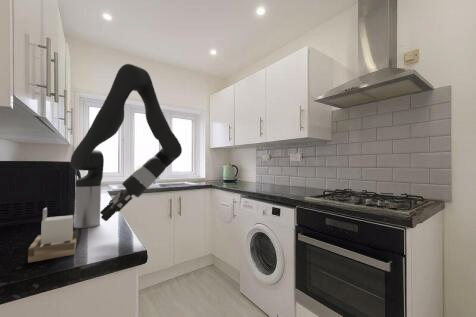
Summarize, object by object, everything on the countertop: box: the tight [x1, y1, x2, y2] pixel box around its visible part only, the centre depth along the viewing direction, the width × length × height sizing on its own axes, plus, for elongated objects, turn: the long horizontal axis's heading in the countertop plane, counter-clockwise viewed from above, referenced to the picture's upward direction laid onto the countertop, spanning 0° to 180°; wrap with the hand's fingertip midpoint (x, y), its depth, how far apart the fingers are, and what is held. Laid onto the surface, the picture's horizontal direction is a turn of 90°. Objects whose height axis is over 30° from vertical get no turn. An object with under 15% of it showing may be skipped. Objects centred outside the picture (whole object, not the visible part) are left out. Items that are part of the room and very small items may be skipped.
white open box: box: [40, 207, 74, 247], centre depth 68 cm, size 5×7×12 cm
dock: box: [27, 231, 78, 264], centre depth 68 cm, size 14×10×4 cm
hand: (102, 216), depth 75 cm, fingers open, 8 cm apart
